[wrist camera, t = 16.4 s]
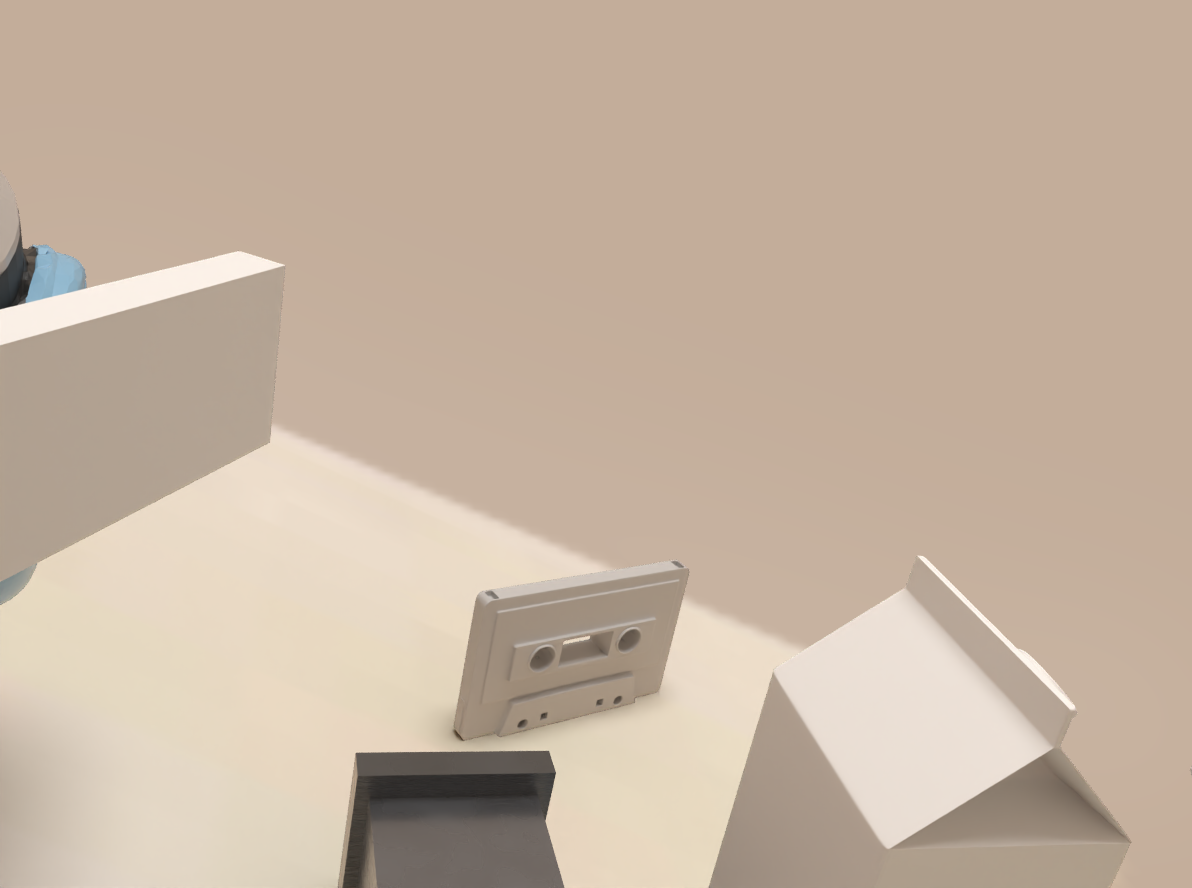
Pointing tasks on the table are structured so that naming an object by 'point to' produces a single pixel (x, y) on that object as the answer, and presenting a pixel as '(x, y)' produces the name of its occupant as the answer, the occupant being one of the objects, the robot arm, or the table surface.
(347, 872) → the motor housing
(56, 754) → the table surface
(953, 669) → the milk carton
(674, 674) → the table surface
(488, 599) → the cassette
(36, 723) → the table surface
